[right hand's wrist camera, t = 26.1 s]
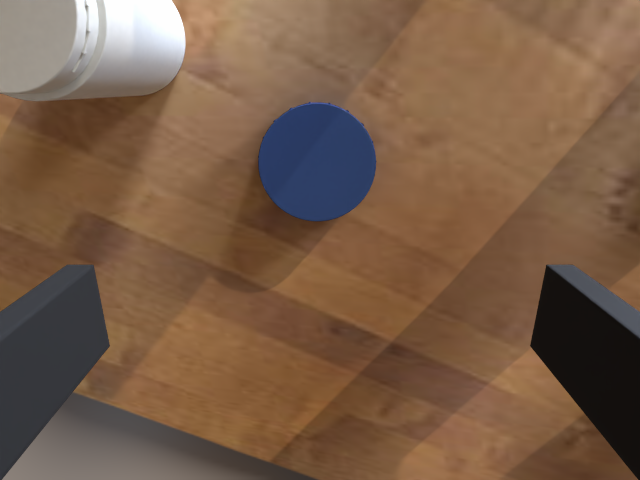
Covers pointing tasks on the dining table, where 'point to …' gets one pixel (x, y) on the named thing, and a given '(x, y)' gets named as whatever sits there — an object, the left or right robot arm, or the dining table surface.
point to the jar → (88, 48)
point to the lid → (317, 162)
